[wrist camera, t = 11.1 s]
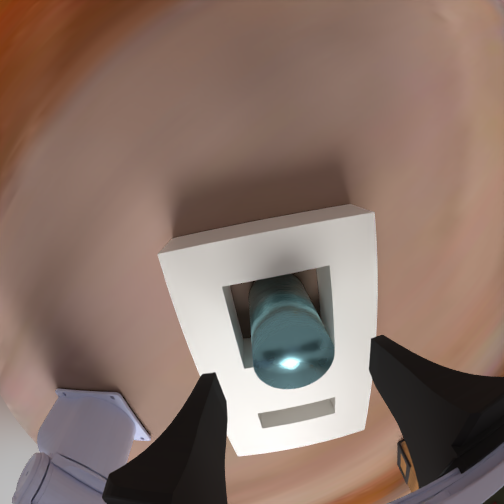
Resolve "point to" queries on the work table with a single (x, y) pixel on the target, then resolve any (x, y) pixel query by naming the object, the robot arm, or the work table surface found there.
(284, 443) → the bore block
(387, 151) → the work table surface
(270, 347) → the teal cylinder
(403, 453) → the ammunition clip
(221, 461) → the robot arm
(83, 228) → the work table surface
